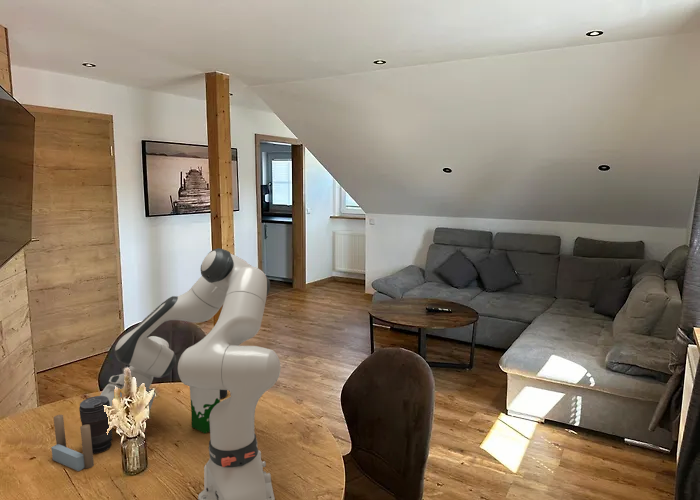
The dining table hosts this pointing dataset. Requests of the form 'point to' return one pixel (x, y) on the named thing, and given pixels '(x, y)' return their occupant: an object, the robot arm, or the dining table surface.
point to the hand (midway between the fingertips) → (111, 426)
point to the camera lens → (96, 422)
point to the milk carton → (202, 407)
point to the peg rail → (68, 455)
